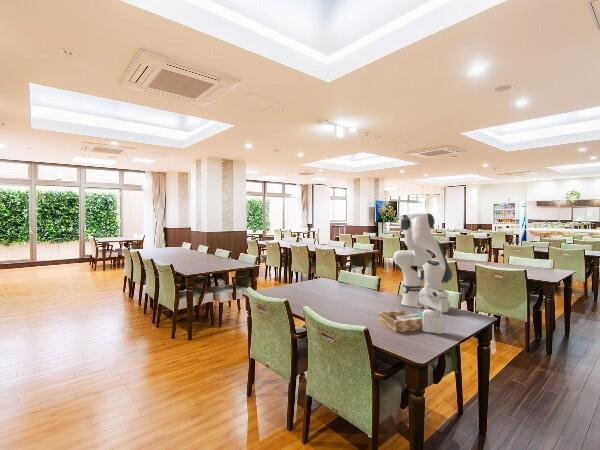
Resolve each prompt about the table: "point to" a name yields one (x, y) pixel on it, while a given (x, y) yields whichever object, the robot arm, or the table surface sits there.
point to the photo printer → (432, 322)
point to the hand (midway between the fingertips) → (432, 315)
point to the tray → (410, 316)
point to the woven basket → (399, 321)
